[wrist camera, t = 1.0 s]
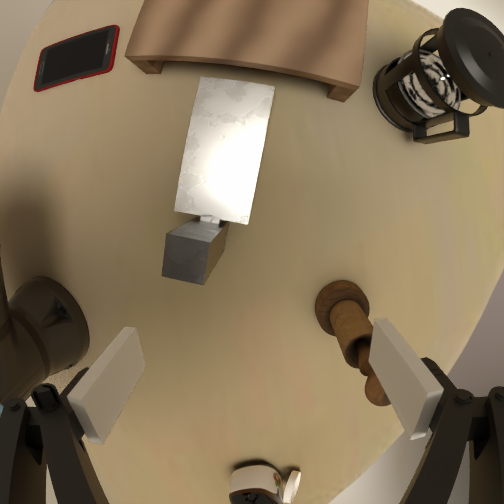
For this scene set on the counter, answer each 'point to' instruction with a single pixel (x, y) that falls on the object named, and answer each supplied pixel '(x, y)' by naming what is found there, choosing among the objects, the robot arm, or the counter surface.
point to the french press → (446, 76)
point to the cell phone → (77, 58)
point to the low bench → (257, 37)
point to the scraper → (217, 173)
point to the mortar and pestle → (351, 331)
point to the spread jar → (261, 485)
